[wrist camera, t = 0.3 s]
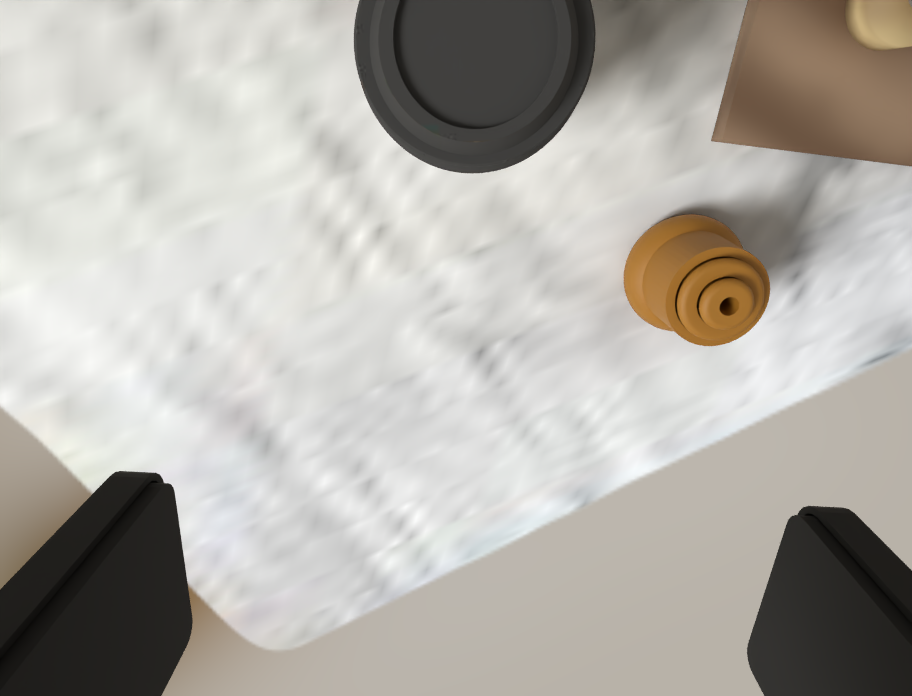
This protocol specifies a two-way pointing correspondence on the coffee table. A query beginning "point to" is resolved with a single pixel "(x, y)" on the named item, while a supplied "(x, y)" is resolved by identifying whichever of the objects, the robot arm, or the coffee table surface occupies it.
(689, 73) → the coffee table surface
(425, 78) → the coffee cup
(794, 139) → the toggle switch
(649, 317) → the ornamental finial
